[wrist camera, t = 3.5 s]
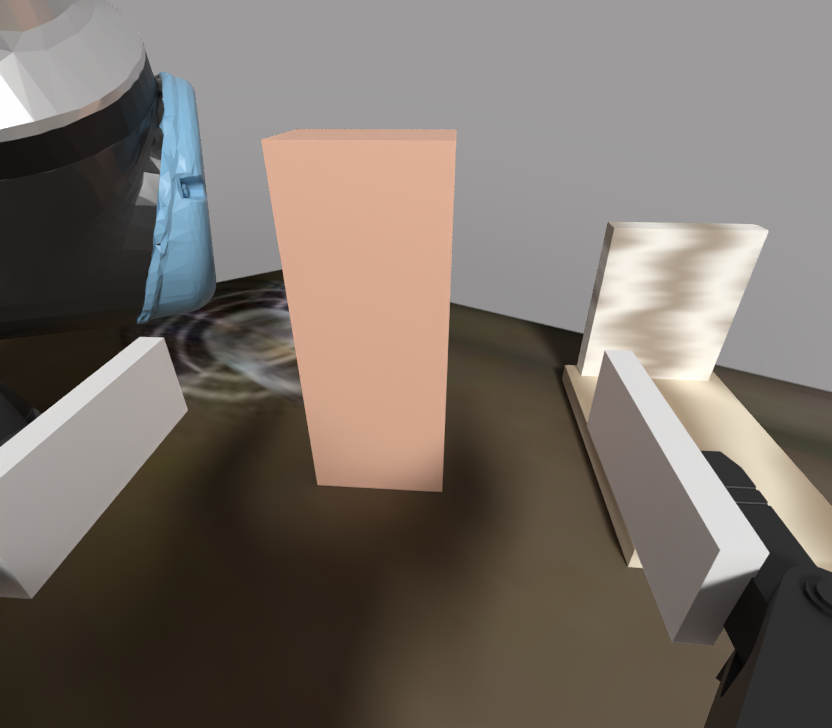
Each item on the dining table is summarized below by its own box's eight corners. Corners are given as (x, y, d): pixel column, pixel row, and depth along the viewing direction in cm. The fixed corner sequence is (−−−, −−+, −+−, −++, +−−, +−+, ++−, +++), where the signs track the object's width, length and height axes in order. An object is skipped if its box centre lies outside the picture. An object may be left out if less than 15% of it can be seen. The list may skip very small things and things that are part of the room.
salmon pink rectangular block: (317, 484, 29) (261, 139, 19) (335, 434, 34) (297, 129, 23) (442, 492, 29) (455, 140, 18) (444, 439, 33) (456, 129, 22)
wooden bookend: (627, 566, 24) (714, 345, 17) (561, 379, 40) (593, 221, 32) (867, 582, 23) (1062, 357, 16) (705, 385, 39) (770, 224, 32)
